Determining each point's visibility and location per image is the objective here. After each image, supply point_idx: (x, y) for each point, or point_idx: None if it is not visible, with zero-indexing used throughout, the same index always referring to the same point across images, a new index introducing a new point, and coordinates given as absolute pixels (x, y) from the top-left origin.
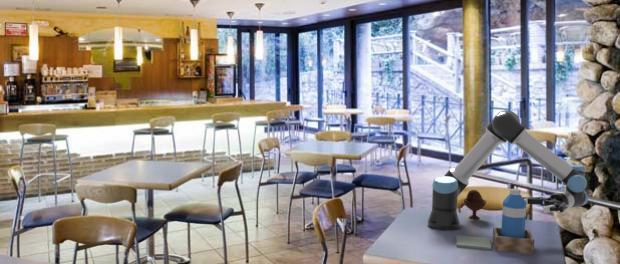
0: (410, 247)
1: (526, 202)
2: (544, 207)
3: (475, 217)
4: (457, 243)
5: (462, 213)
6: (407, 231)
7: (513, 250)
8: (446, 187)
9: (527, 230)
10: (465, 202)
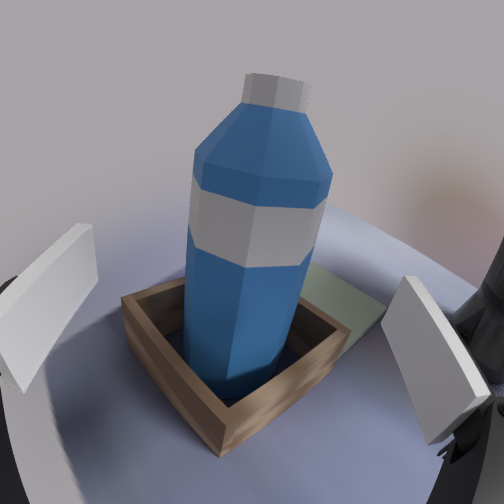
0: (336, 229)
1: (440, 409)
2: (82, 228)
3: None
4: (319, 266)
5: None
6: (433, 275)
7: None
8: None
9: (226, 408)
10: None
